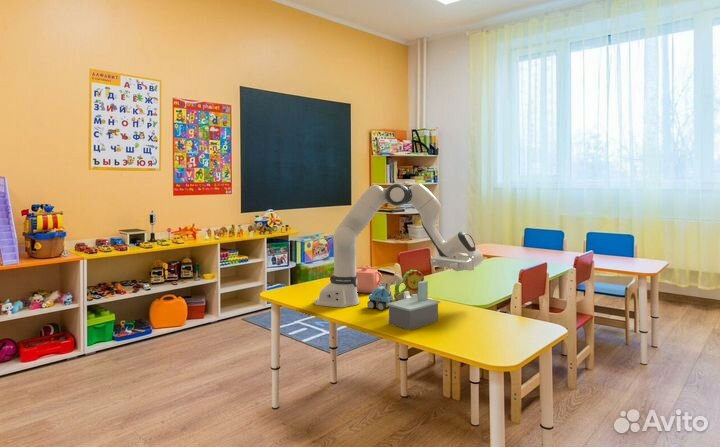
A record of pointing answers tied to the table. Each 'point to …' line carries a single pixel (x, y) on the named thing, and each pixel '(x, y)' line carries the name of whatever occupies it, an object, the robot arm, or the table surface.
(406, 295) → the bracket
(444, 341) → the table surface
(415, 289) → the toy lion
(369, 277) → the teapot
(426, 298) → the lid
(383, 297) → the toy excavator
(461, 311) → the table surface
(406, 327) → the tub
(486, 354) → the table surface
